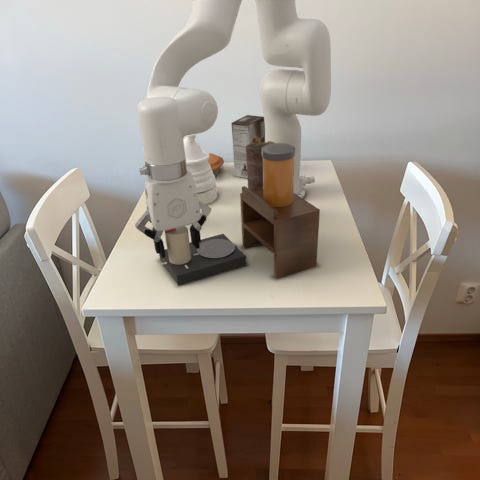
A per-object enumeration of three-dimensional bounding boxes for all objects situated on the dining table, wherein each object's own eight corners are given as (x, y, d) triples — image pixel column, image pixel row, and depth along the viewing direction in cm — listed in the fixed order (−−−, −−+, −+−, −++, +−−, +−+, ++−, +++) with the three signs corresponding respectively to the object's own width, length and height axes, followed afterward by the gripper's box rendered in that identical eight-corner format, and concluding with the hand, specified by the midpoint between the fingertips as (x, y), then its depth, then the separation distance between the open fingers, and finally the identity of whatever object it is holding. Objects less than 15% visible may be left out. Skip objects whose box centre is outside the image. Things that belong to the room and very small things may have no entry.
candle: (244, 228, 117) (241, 147, 105) (254, 215, 122) (251, 137, 110) (274, 231, 115) (273, 149, 102) (282, 218, 120) (283, 139, 108)
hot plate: (223, 242, 111) (223, 232, 110) (246, 265, 103) (246, 255, 101) (153, 262, 106) (152, 252, 104) (171, 288, 97) (169, 277, 96)
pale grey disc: (225, 236, 109) (225, 235, 108) (241, 252, 102) (241, 251, 102) (191, 246, 106) (190, 244, 106) (205, 262, 100) (205, 261, 99)
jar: (283, 192, 101) (284, 141, 94) (300, 203, 96) (301, 149, 89) (256, 198, 99) (255, 147, 92) (272, 210, 94) (271, 156, 87)
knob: (186, 251, 104) (182, 221, 99) (194, 261, 100) (190, 230, 96) (166, 257, 102) (161, 226, 98) (173, 267, 99) (168, 236, 94)
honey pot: (225, 198, 132) (220, 132, 121) (184, 210, 127) (176, 143, 116) (203, 184, 141) (197, 122, 130) (164, 195, 135) (155, 131, 124)
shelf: (279, 236, 113) (279, 175, 103) (316, 266, 101) (320, 200, 92) (242, 246, 110) (239, 185, 100) (276, 278, 98) (276, 212, 89)
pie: (173, 184, 142) (171, 168, 139) (178, 166, 154) (176, 151, 151) (224, 181, 142) (223, 165, 139) (225, 163, 154) (224, 148, 151)
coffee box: (249, 166, 151) (247, 114, 141) (266, 169, 148) (265, 116, 138) (233, 176, 145) (230, 122, 135) (251, 179, 142) (249, 124, 132)
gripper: (128, 184, 84) (145, 269, 95) (216, 165, 89) (223, 247, 100) (117, 172, 89) (134, 253, 100) (201, 154, 95) (209, 233, 106)
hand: (178, 249), depth 100 cm, fingers open, 7 cm apart
